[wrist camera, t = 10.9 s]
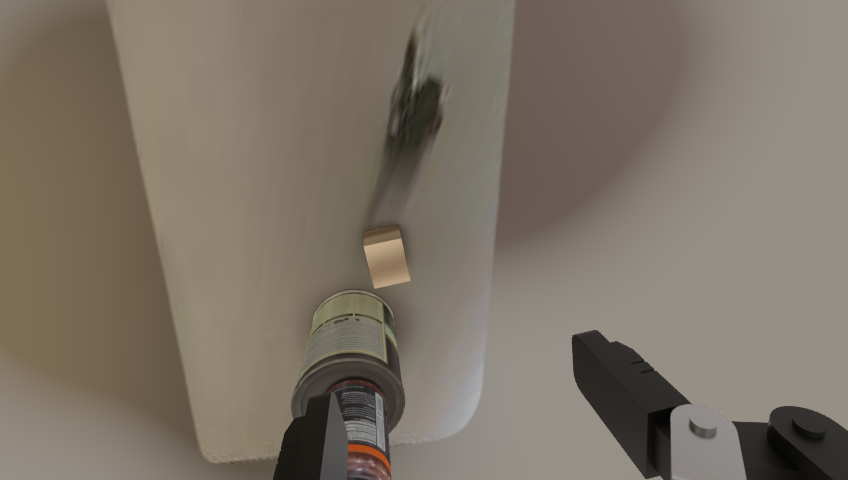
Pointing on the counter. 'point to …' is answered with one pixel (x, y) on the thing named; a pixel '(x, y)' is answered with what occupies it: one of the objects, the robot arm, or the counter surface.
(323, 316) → the coffee can
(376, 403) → the supplement bottle
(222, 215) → the counter surface
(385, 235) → the tan metallic cube
